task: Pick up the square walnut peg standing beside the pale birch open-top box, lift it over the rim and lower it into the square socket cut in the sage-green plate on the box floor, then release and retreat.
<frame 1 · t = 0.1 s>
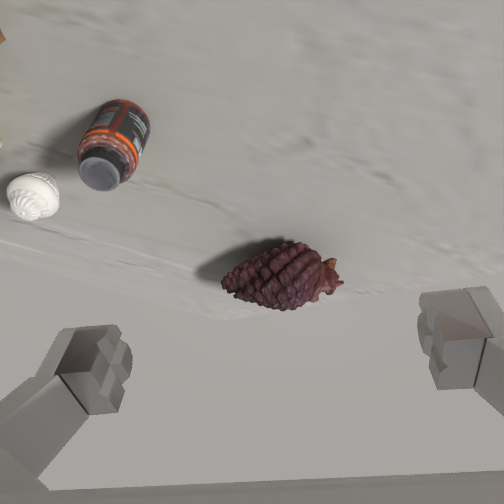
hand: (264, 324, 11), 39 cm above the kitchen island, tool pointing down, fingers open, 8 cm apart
pine cone: (280, 252, 63), on the kitchen island
supplement bottle: (126, 121, 49), on the kitchen island
white ribbed rounded lump: (44, 181, 55), on the kitchen island
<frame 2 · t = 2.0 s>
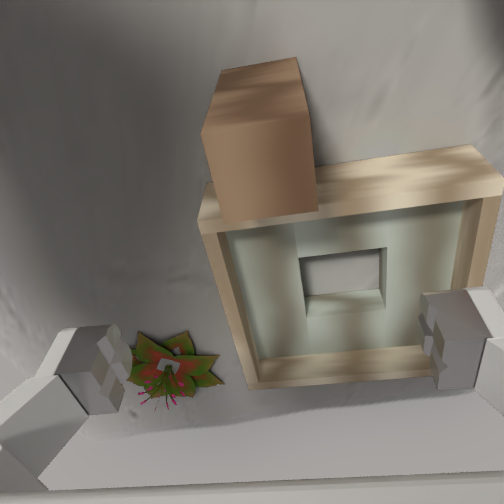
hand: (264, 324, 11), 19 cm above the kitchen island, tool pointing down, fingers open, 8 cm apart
peg: (264, 101, 26), on the kitchen island
peg box: (339, 264, 34), on the kitchen island
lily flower: (169, 360, 43), on the kitchen island
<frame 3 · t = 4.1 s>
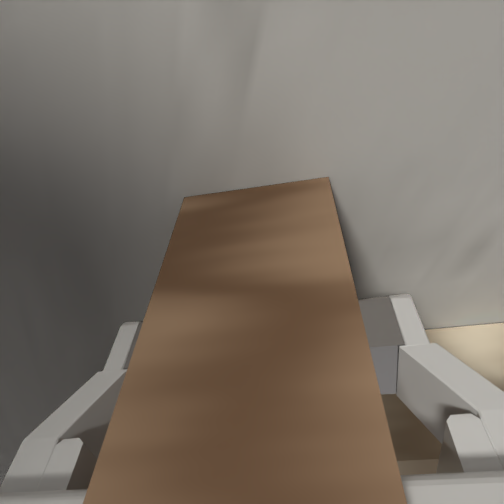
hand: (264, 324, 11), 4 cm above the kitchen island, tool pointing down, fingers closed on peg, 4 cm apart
peg: (266, 245, 14), on the kitchen island, touching gripper
peg box: (382, 447, 22), on the kitchen island
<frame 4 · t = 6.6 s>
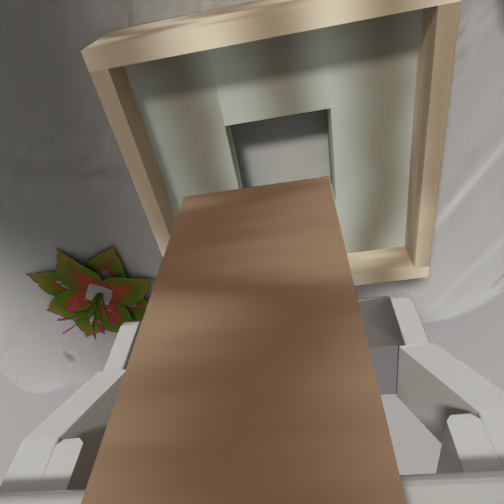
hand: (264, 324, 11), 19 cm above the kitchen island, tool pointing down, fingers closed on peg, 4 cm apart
peg: (265, 244, 14), point 16 cm above the kitchen island, touching gripper
peg box: (281, 149, 29), on the kitchen island
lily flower: (101, 289, 38), on the kitchen island
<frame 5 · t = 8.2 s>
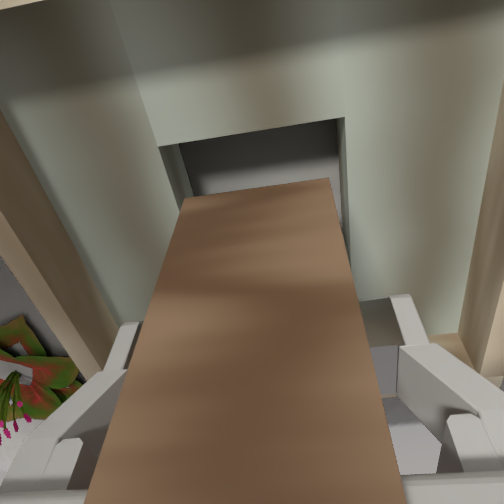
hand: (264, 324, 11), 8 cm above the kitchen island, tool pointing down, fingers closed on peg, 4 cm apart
peg: (266, 246, 14), point 5 cm above the kitchen island, touching gripper
peg box: (264, 181, 18), on the kitchen island
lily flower: (20, 364, 27), on the kitchen island
when the fingers open (5 cm above the kitchen island, at t = 9.3 s): peg drops 1 cm, resting in peg box.
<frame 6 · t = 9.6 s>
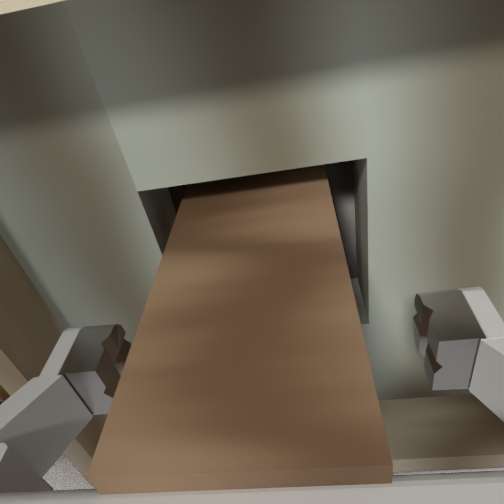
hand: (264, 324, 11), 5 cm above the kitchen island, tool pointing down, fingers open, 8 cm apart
peg: (265, 220, 15), resting in peg box
peg box: (266, 222, 15), on the kitchen island
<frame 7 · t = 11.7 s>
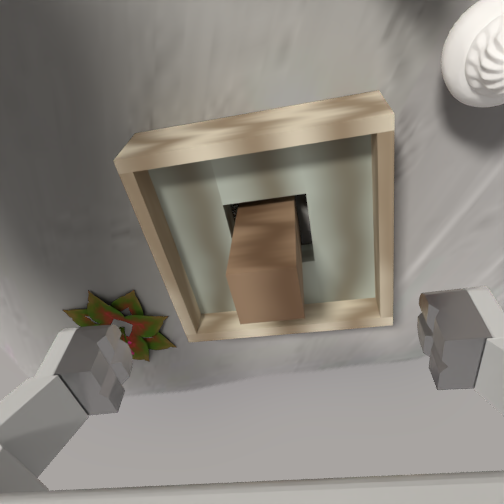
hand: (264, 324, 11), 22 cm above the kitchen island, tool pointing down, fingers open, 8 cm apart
peg: (270, 217, 35), resting in peg box
peg box: (271, 217, 35), on the kitchen island
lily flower: (123, 323, 45), on the kitchen island
white ribbed rounded lump: (474, 40, 26), on the kitchen island
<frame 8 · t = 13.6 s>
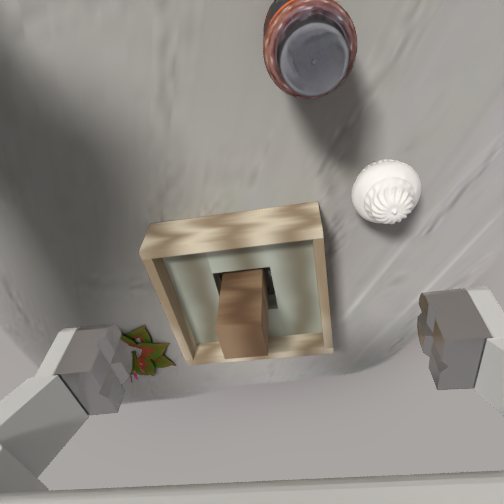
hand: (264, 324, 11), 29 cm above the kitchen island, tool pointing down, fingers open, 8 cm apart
peg: (246, 276, 49), resting in peg box
peg box: (247, 277, 49), on the kitchen island
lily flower: (134, 347, 58), on the kitchen island
supplement bottle: (301, 27, 33), on the kitchen island
white ribbed rounded lump: (377, 174, 40), on the kitchen island
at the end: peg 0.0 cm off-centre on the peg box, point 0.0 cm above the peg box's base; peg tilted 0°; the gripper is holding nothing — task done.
